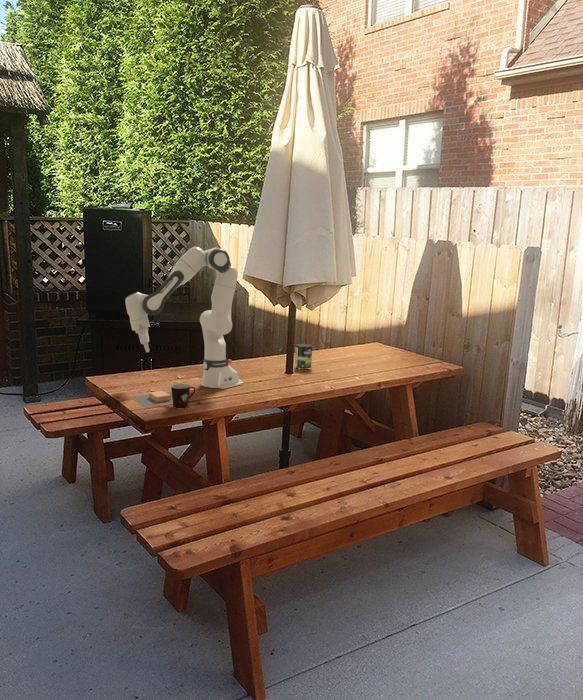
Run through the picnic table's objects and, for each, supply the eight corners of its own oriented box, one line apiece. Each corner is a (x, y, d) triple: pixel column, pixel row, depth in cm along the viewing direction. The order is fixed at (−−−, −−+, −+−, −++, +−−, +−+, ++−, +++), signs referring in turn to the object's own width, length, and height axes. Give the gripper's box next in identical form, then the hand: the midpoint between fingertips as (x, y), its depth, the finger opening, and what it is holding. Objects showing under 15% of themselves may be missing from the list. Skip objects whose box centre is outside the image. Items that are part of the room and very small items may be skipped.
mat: (171, 391, 321) (171, 391, 321) (188, 400, 307) (188, 400, 307) (129, 397, 308) (129, 397, 308) (145, 407, 294) (145, 406, 294)
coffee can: (314, 368, 383) (316, 345, 380) (302, 370, 376) (303, 347, 374) (303, 365, 391) (304, 342, 388) (290, 367, 384) (291, 344, 381)
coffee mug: (171, 409, 292) (172, 388, 290) (170, 404, 300) (170, 383, 298) (197, 408, 295) (197, 387, 293) (194, 403, 303) (194, 383, 301)
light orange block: (162, 390, 312) (170, 395, 305) (162, 395, 312) (170, 400, 305) (148, 392, 307) (156, 397, 300) (148, 397, 308) (156, 402, 301)
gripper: (146, 323, 308) (153, 351, 309) (147, 323, 328) (154, 349, 329) (133, 326, 307) (140, 354, 308) (135, 326, 327) (142, 352, 328)
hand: (147, 352), depth 319 cm, fingers closed
